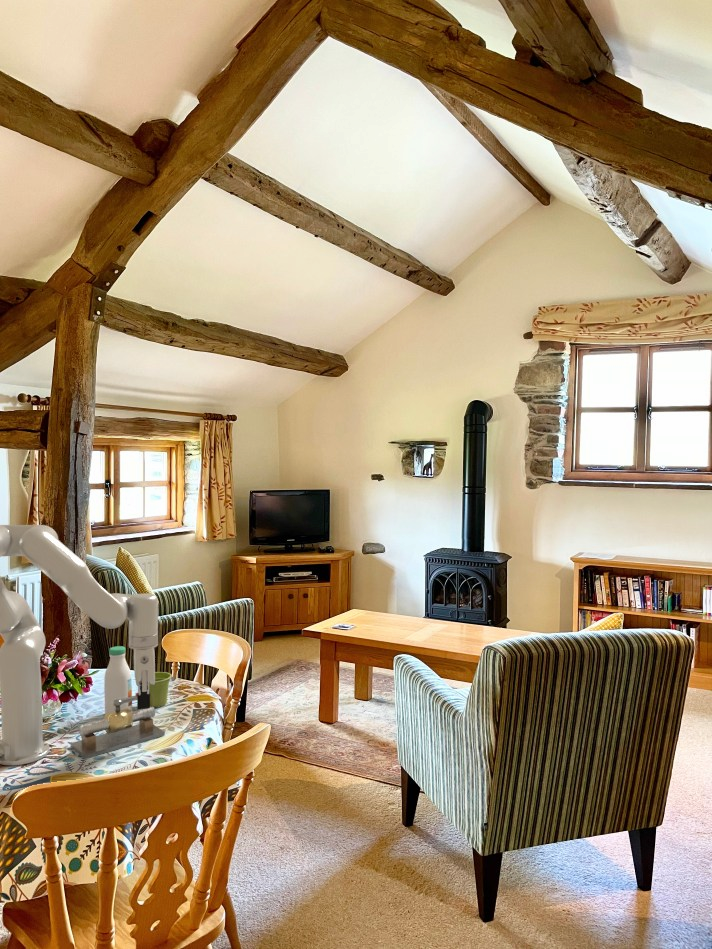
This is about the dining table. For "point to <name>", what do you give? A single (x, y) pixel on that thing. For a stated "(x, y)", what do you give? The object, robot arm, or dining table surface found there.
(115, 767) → the dining table surface
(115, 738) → the stand
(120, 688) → the milk bottle
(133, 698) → the valve lever
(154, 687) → the plant pot
